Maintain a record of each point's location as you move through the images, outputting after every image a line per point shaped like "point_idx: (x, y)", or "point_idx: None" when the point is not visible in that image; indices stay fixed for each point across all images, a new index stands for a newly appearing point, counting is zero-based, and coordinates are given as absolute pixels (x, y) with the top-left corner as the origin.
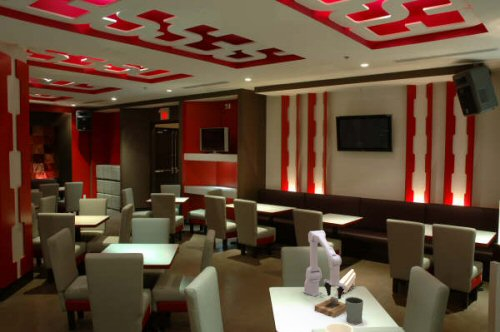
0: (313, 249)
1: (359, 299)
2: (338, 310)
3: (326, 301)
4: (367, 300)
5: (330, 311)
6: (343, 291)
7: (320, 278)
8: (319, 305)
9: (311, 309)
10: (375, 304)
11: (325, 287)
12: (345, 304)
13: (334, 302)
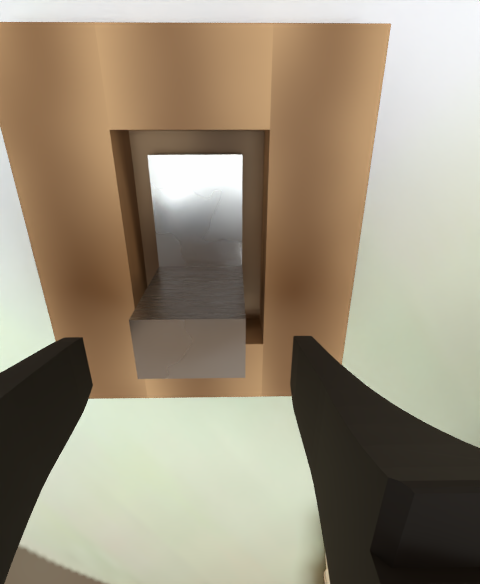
0: None
1: None
2: (10, 163)
3: (322, 303)
4: (126, 568)
5: (53, 22)
6: (328, 577)
7: None
8: (329, 102)
9: (416, 44)
10: (39, 553)
11: (425, 431)
12: (102, 382)
13: (168, 293)
